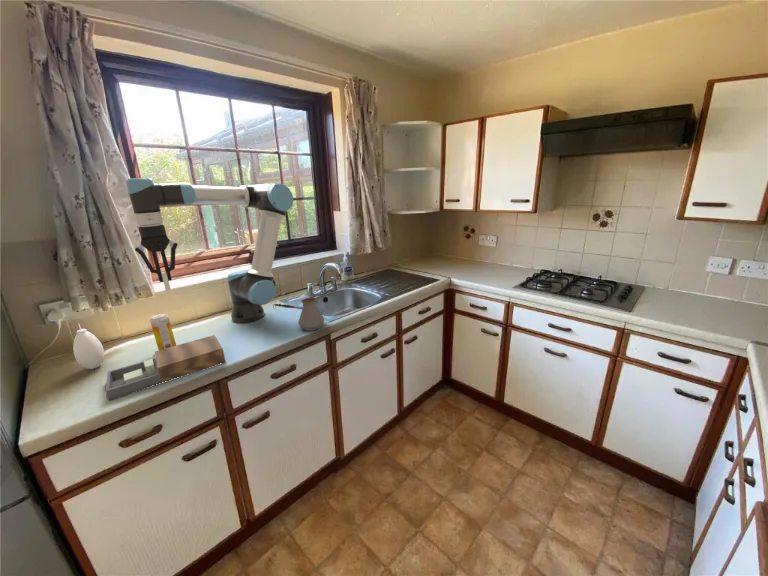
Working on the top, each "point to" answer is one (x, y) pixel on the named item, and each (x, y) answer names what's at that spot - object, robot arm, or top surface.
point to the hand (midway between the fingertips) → (168, 289)
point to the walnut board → (189, 358)
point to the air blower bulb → (87, 349)
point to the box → (119, 388)
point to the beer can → (162, 331)
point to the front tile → (133, 376)
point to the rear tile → (150, 367)
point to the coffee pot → (308, 314)
